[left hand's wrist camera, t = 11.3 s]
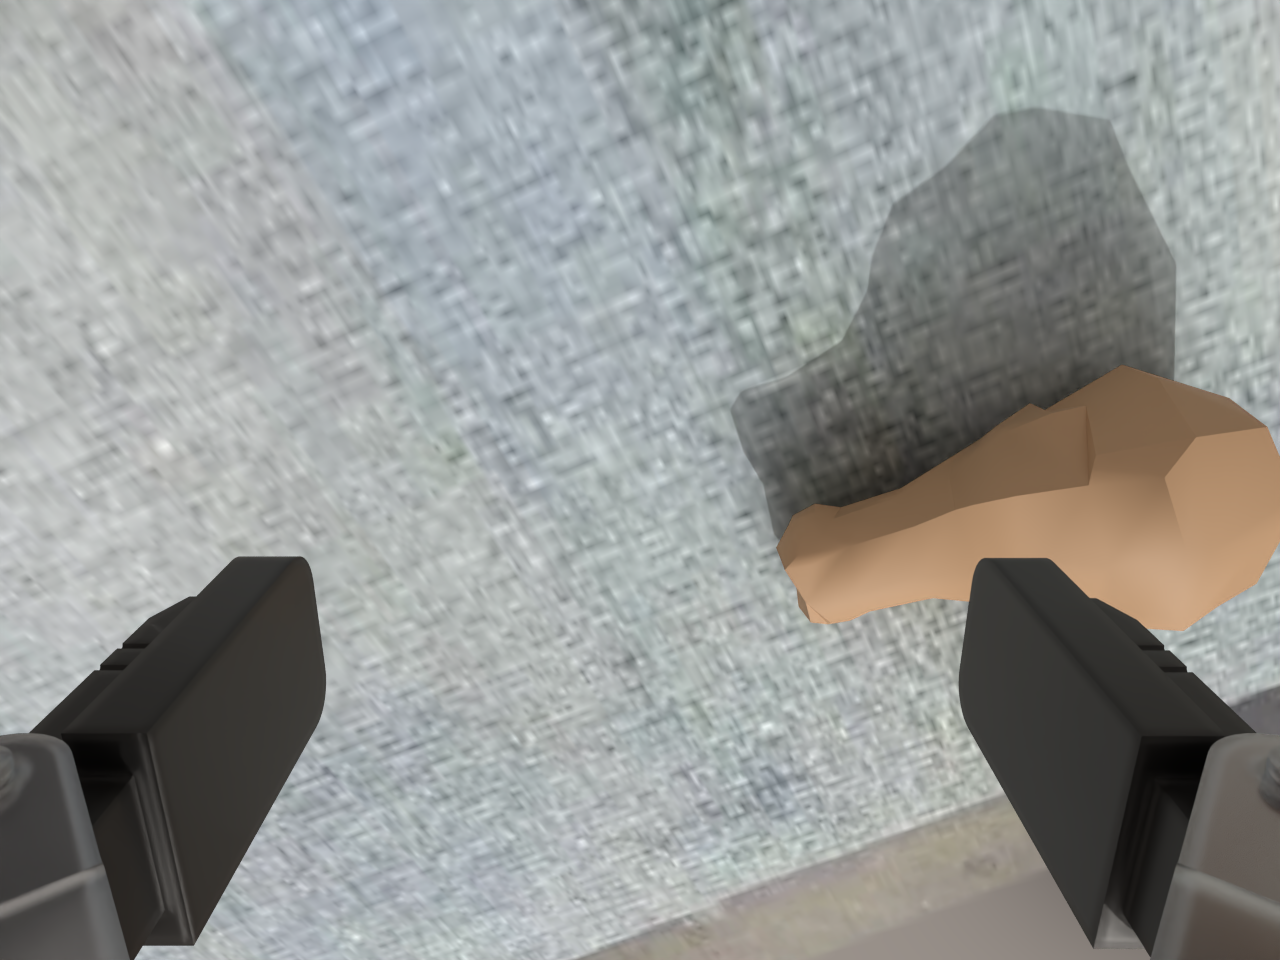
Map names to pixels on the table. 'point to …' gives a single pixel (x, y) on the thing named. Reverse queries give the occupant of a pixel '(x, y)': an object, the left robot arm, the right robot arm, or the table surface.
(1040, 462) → the squash
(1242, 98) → the table surface
